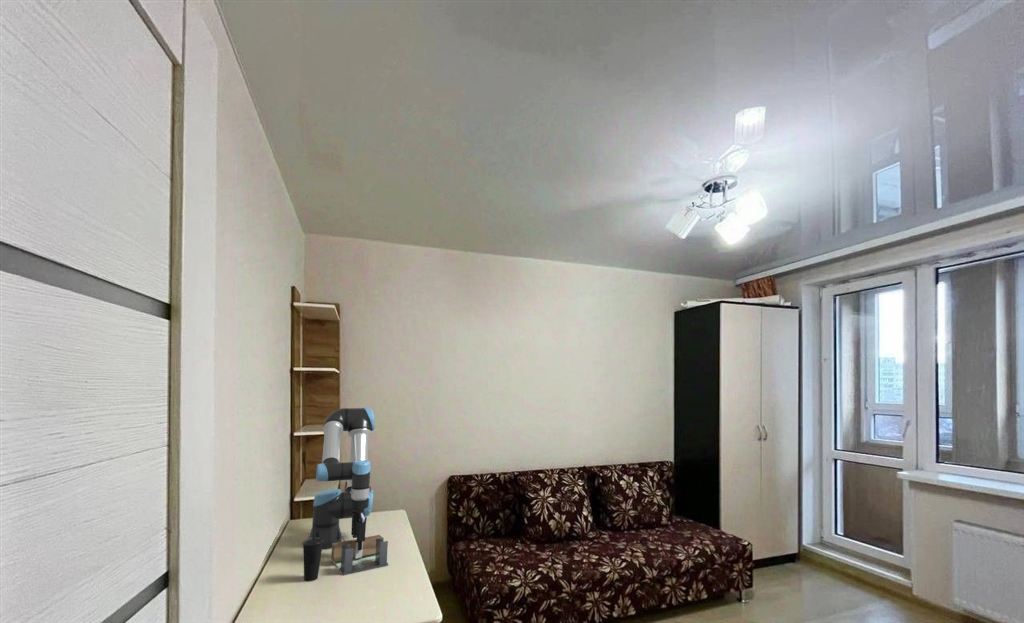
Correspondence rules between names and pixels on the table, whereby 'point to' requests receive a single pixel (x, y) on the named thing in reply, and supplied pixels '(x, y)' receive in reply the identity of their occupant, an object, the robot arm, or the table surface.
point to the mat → (358, 560)
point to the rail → (368, 547)
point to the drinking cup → (312, 556)
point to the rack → (379, 561)
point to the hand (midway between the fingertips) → (357, 555)
